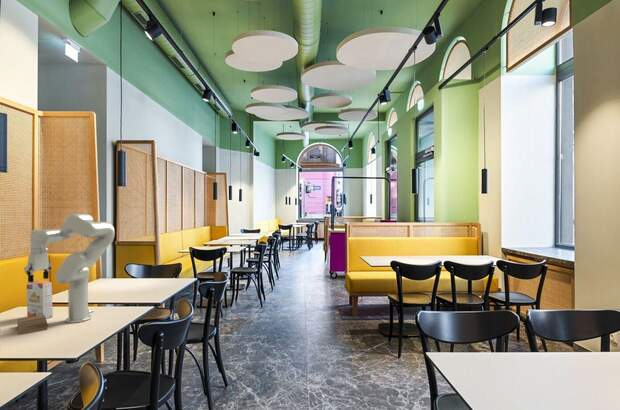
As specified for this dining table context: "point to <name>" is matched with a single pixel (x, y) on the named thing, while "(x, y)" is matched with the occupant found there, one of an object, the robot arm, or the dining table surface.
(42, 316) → the walnut block
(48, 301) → the cracker box
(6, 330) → the dining table surface
